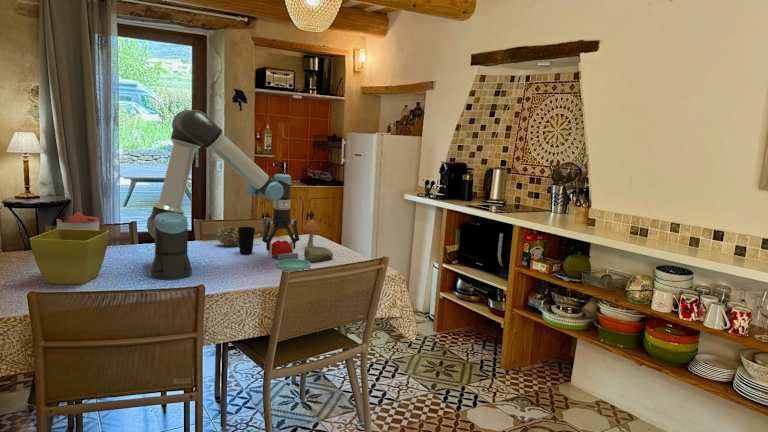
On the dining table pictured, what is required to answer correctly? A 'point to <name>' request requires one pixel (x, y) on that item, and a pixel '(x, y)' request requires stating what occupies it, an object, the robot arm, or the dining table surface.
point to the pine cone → (229, 236)
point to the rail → (287, 256)
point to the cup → (246, 240)
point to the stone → (317, 254)
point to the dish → (293, 264)
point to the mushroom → (311, 230)
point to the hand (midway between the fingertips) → (280, 256)
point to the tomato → (280, 248)
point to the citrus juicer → (79, 222)
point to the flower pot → (70, 254)
